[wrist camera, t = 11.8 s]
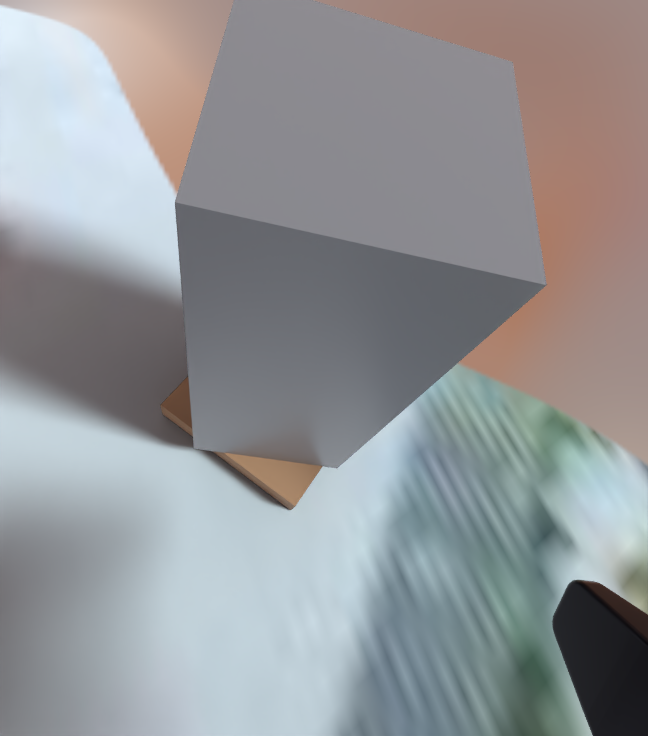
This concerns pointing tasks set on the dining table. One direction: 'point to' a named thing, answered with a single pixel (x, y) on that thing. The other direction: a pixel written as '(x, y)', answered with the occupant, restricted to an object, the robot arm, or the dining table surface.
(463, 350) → the tall grey pillar
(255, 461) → the post plinth
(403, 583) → the dining table surface
